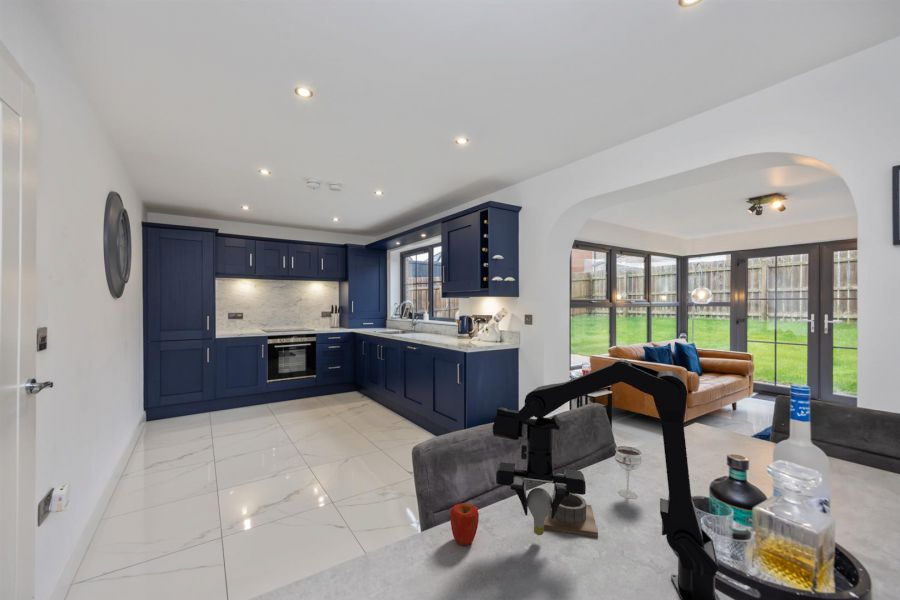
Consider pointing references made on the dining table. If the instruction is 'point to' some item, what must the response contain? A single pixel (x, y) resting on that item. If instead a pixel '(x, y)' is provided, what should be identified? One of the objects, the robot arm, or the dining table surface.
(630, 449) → the wineglass
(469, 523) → the apple
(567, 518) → the socket base
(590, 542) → the dining table surface
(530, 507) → the light bulb
